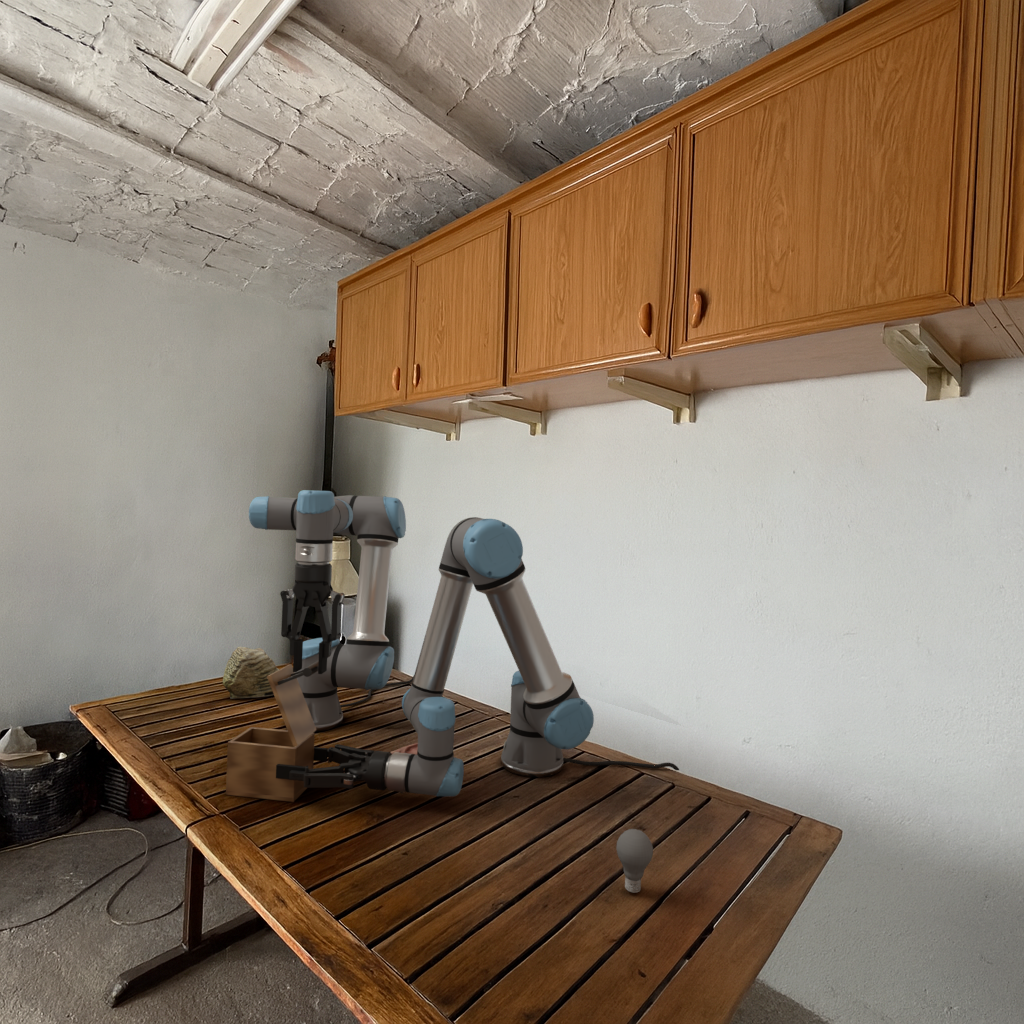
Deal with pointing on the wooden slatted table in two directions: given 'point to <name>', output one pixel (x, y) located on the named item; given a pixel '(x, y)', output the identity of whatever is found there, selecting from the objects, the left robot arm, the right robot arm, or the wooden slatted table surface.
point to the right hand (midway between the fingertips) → (288, 761)
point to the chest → (266, 764)
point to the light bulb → (634, 857)
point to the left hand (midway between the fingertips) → (309, 671)
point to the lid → (293, 701)
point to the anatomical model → (408, 749)
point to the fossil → (248, 673)
